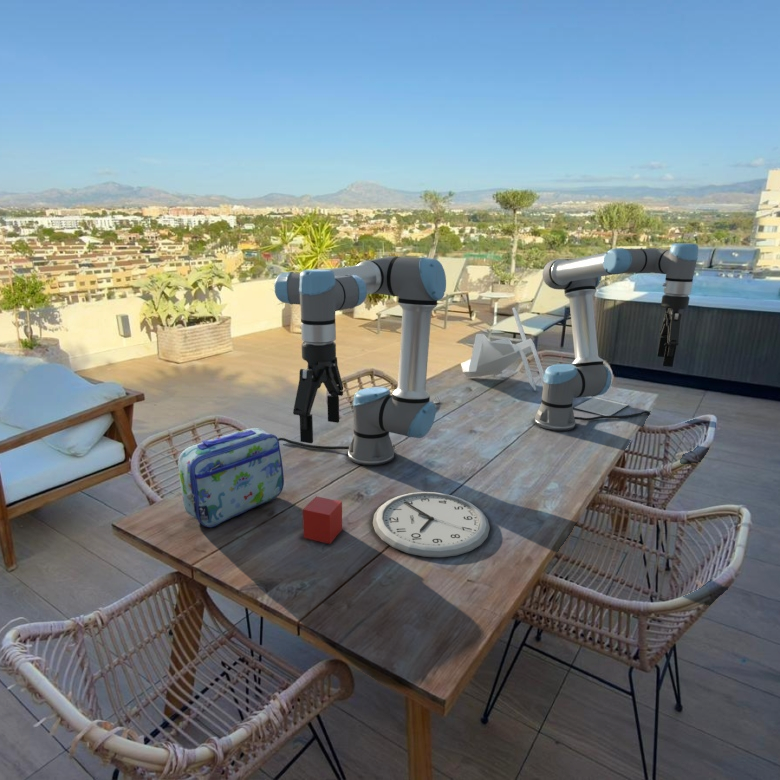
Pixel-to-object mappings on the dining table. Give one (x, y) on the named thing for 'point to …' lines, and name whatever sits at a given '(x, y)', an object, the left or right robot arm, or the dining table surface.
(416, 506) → the wall clock
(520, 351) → the white plastic object
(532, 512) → the dining table surface
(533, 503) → the dining table surface
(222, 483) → the lunch box
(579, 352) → the right robot arm
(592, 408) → the invitation card
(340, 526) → the brick
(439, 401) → the fork
